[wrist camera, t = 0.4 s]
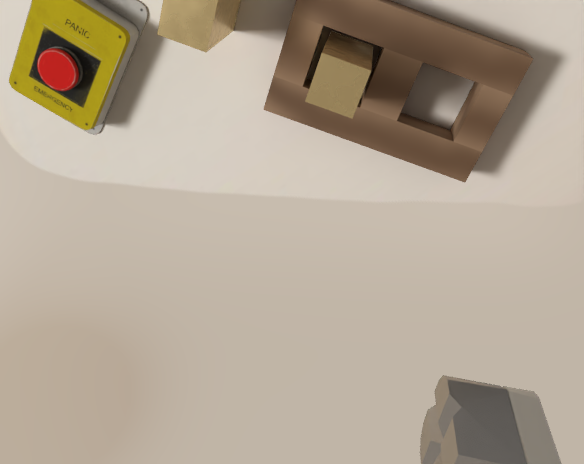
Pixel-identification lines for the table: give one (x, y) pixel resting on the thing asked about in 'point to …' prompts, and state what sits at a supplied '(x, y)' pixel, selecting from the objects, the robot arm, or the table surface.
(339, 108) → the seated billet
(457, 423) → the robot arm
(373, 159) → the table surface
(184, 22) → the block
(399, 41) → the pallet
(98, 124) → the emergency button
